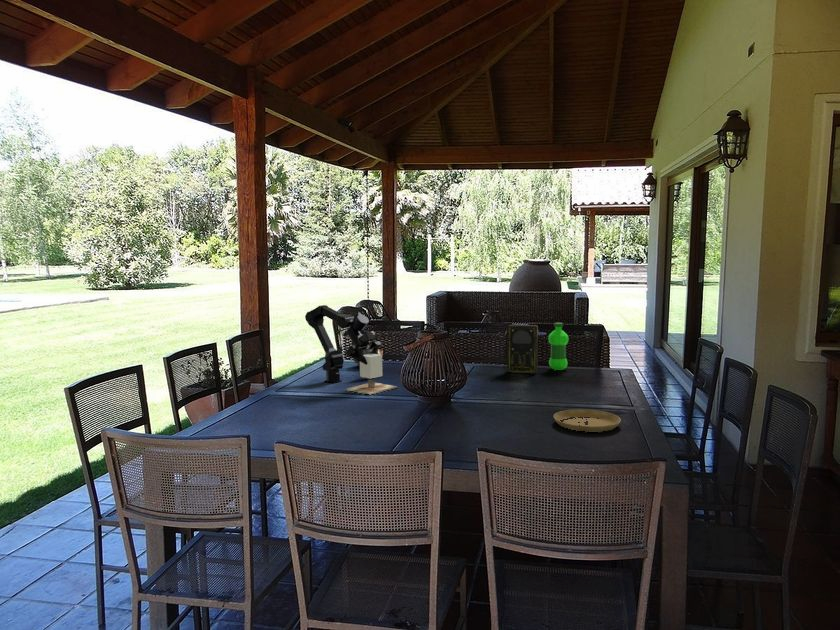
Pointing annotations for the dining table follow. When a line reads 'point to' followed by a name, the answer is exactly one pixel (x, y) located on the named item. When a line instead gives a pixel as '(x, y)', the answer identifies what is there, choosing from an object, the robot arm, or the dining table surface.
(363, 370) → the block
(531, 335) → the voltmeter
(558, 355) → the plastic bottle
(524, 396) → the dining table surface
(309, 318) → the robot arm
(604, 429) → the plant saucer
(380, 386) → the header board
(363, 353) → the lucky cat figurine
